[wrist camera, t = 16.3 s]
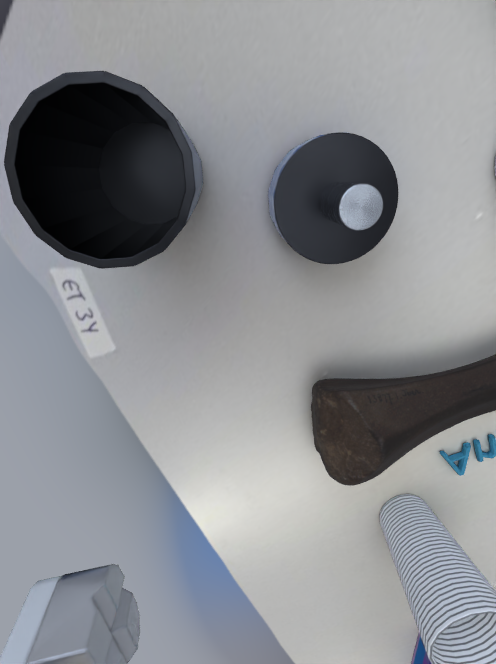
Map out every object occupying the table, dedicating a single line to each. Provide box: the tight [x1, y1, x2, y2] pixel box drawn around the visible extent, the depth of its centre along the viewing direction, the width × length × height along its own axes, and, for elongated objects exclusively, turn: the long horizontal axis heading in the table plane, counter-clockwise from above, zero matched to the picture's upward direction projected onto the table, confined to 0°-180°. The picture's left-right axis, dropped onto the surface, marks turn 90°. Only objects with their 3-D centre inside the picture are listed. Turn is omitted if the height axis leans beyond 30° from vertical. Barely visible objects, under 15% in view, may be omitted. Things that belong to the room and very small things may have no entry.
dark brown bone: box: [311, 355, 496, 485], centre depth 42 cm, size 11×10×28 cm
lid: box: [274, 133, 398, 264], centre depth 32 cm, size 10×10×7 cm
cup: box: [380, 494, 496, 664], centre depth 44 cm, size 8×8×16 cm
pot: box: [4, 71, 203, 268], centre depth 29 cm, size 9×9×16 cm
